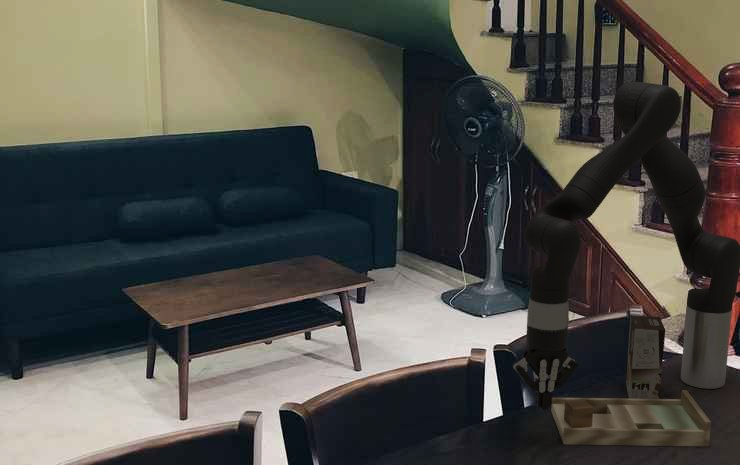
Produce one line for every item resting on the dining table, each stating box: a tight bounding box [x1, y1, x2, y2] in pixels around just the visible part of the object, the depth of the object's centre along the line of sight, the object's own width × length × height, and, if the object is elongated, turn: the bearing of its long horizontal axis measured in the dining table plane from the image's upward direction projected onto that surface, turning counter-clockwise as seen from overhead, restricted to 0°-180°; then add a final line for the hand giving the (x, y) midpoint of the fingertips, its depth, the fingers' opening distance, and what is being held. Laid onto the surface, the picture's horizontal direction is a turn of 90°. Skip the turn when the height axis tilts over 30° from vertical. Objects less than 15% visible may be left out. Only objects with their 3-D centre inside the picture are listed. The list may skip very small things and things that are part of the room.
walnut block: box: [564, 399, 593, 428], centre depth 169 cm, size 4×4×4 cm
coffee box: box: [625, 315, 667, 399], centre depth 186 cm, size 9×6×16 cm
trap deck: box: [550, 389, 712, 448], centre depth 171 cm, size 27×15×5 cm, turn 88°
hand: (542, 408), depth 167 cm, fingers closed
